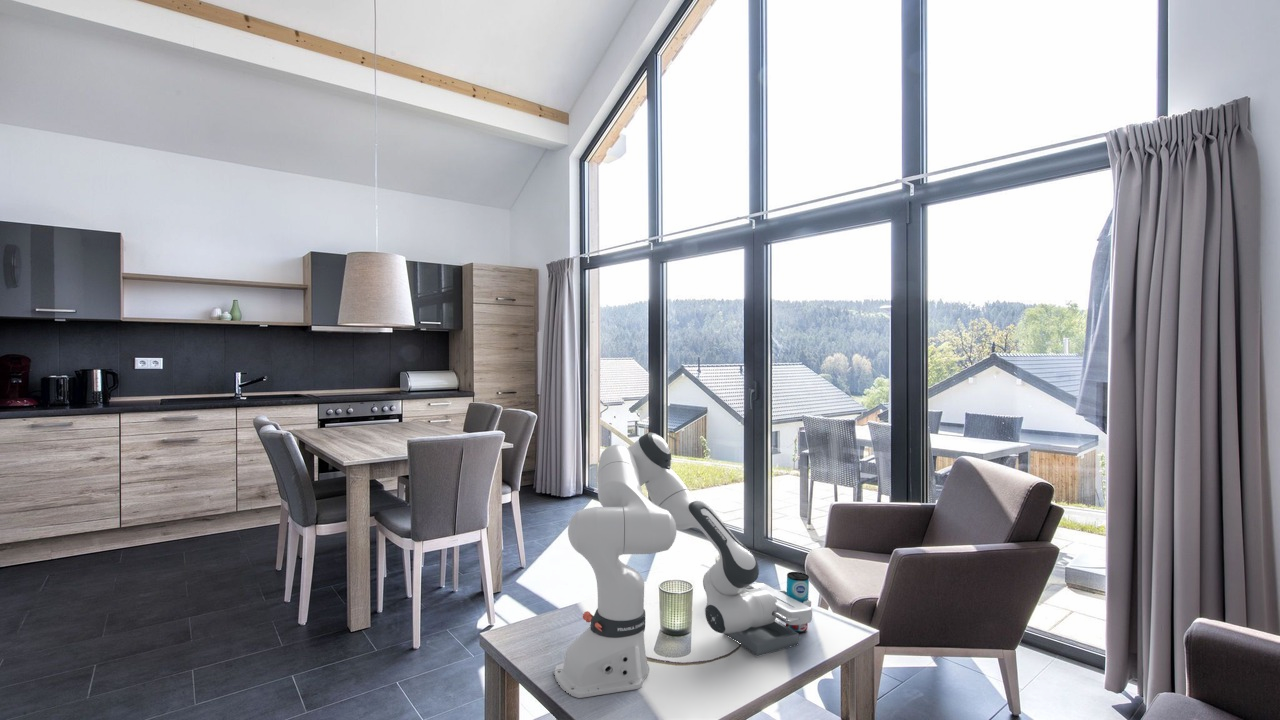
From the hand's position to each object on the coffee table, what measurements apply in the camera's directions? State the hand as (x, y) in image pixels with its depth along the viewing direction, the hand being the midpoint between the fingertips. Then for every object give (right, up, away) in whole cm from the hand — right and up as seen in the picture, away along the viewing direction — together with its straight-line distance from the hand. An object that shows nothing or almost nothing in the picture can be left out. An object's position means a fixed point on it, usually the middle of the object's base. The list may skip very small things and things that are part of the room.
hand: (799, 598), depth 170 cm
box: (-12, -8, -7) cm, 16 cm away
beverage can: (-1, -9, 0) cm, 9 cm away
